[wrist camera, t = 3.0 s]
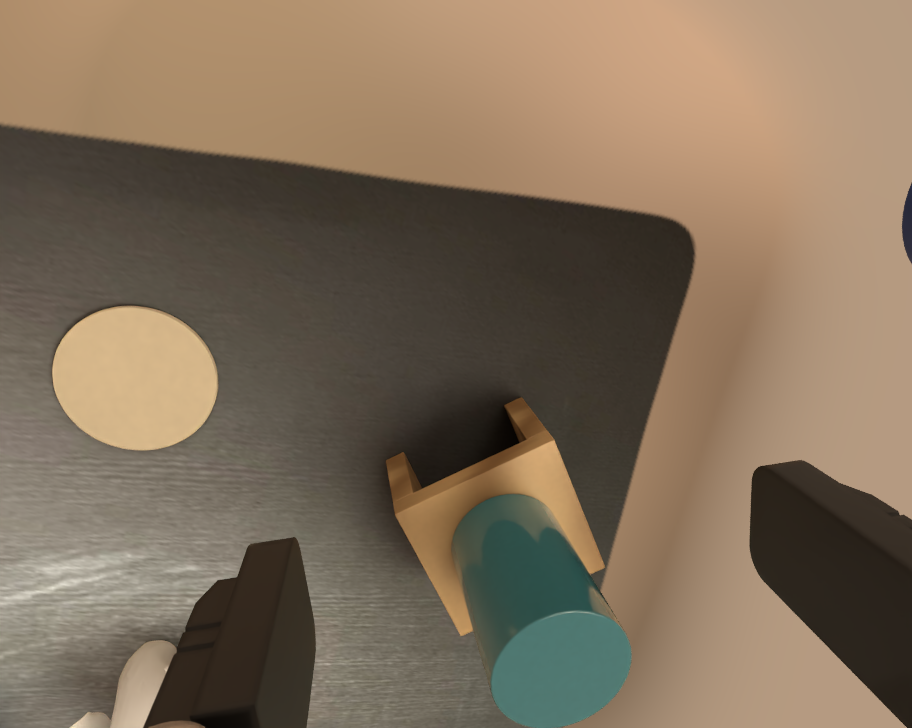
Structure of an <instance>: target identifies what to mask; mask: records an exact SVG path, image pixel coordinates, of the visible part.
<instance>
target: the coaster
mask: <svg viewBox="0 0 912 728" xmlns="http://www.w3.org/2000/svg"><path fill="white" fill-rule="evenodd" d="M52 378H53V385H54V389H55V393H56V396H57V398H58V400H59V402H60V405H61V406H62V408H63V409H64V411H65V412H66V414H67V415H68V416H69V418H70V419H71V420H72V421H73V422H74V423H75V424H76V425H77V426H78V427H79V428H80V429H82V430H83V431H84V432H86V433H87V434H89V435H90V436H92V437H94V438H95V439H97V440H99V441H101V442H104V443H106V444H109V445H112V446H115V447H119V448H124V449H129V450H153V449H160V448H164V447H168V446H171V445H173V444H176V443H178V442H180V441H182V440H184V439H186V438H187V437H189V436H190V435H192V434H193V433H194V432H195V431H196V430H198V429H199V428H200V427H201V426H202V424H203V423H204V422H205V421H206V419H207V418H208V416H209V414H210V413H211V411H212V408H213V406H214V404H215V401H216V397H217V393H218V373H217V368H216V364H215V362H214V359H213V356H212V354H211V352H210V350H209V348H208V347H207V345H206V344H205V343H204V341H203V340H202V339H201V338H200V336H199V335H198V334H197V333H196V332H195V331H194V330H193V329H191V328H190V327H189V326H188V325H187V324H185V323H184V322H182V321H181V320H179V319H177V318H175V317H174V316H172V315H170V314H167V313H165V312H162V311H159V310H156V309H152V308H148V307H141V306H118V307H112V308H108V309H104V310H101V311H98V312H96V313H93V314H91V315H89V316H88V317H86V318H84V319H83V320H81V321H80V322H79V323H77V324H76V325H74V326H73V327H72V328H71V329H70V330H69V331H68V332H67V334H66V335H65V336H64V338H63V339H62V340H61V342H60V344H59V346H58V348H57V350H56V353H55V356H54V361H53V367H52Z"/></svg>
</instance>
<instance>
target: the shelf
mask: <svg viewBox="0 0 912 728" xmlns="http://www.w3.org/2000/svg"><path fill="white" fill-rule="evenodd" d="M504 407H505V409H506V412H507V414H508V416H509V419H510V421H511V423H512V426H513V428H514V430H515V433H516V435H517V437H518V440H519V442H520V443H519V444H517V445H514V446H512V447H510V448H508V449H506V450H504V451H502V452H500V453H497V454H495V455H493V456H491V457H489V458H487V459H485V460H482V461H480V462H478V463H476V464H474V465H472V466H470V467H468V468H465V469H463V470H461V471H459V472H457V473H455V474H453V475H450V476H448V477H446V478H444V479H442V480H440V481H438V482H436V483H433V484H431V485H429V486H427V487H425V488H423V489H422V487H421V485H420V483H419V481H418V479H417V477H416V475H415V473H414V471H413V469H412V467H411V465H410V463H409V461H408V459H407V457H406V456H405V454H404V452H402V453H400V454H398V455H396V456H394V457H392V458H390V459H387V460H386V465H387V471H388V477H389V483H390V488H391V494H392V500H393V506H394V512H395V516H396V518H397V519H398V521H399V523H400V525H401V527H402V529H403V530H404V532H405V534H406V536H407V538H408V540H409V541H410V543H411V545H412V547H413V549H414V551H415V552H416V554H417V556H418V558H419V560H420V562H421V564H422V565H423V567H424V569H425V571H426V573H427V575H428V576H429V578H430V580H431V582H432V584H433V586H434V587H435V589H436V591H437V593H438V595H439V597H440V598H441V600H442V602H443V604H444V606H445V608H446V609H447V611H448V613H449V615H450V617H451V619H452V620H453V622H454V624H455V626H456V628H457V630H458V631H459V633H460V635H461V636H463V635H465V634H467V633H469V632H471V631H473V629H472V625H471V622H470V619H469V615H468V612H467V608H466V605H465V601H464V598H463V595H462V591H461V588H460V584H459V581H458V578H457V574H456V571H455V567H454V564H453V560H452V556H451V543H452V538H453V535H454V532H455V530H456V528H457V526H458V524H459V523H460V521H461V520H462V518H463V517H464V516H465V515H466V514H467V513H468V512H469V511H470V510H471V509H472V508H474V507H475V506H477V505H478V504H479V503H481V502H483V501H485V500H487V499H490V498H492V497H496V496H499V495H505V494H522V495H527V496H530V497H533V498H535V499H537V500H539V501H541V502H542V503H544V504H545V505H546V506H547V507H548V508H549V509H550V510H551V511H552V512H553V514H554V515H555V517H556V519H557V520H558V522H559V524H560V525H561V527H562V529H563V530H564V532H565V534H566V535H567V537H568V539H569V540H570V542H571V543H572V545H573V547H574V548H575V550H576V552H577V553H578V555H579V557H580V558H581V560H582V562H583V563H584V565H585V567H586V568H587V570H588V572H589V573H590V574H592V573H594V572H597V571H599V570H601V569H603V568H605V566H604V563H603V561H602V558H601V556H600V553H599V551H598V548H597V546H596V543H595V541H594V538H593V536H592V533H591V531H590V528H589V526H588V523H587V521H586V518H585V516H584V513H583V511H582V508H581V506H580V503H579V501H578V498H577V496H576V493H575V491H574V488H573V486H572V483H571V481H570V478H569V475H568V473H567V470H566V468H565V465H564V463H563V460H562V458H561V455H560V453H559V450H558V448H557V445H556V443H555V440H554V439H553V438H552V436H551V435H550V434H549V432H548V431H547V430H546V428H545V427H544V426H543V424H542V423H541V422H540V421H539V419H538V418H537V417H536V415H535V414H534V413H533V411H532V410H531V409H530V407H529V406H528V405H527V403H526V402H525V401H524V399H523V398H522V397H520V398H518V399H516V400H514V401H512V402H510V403H508V404H505V405H504Z"/></svg>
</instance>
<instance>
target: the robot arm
mask: <svg viewBox="0 0 912 728" xmlns="http://www.w3.org/2000/svg"><path fill="white" fill-rule="evenodd" d="M750 518H751V519H750V552H751V557H752V561H753V563H754V566H755V568H756V570H757V572H758V574H759V576H760V577H761V578H762V580H763V581H764V582H765V583H766V584H767V585H768V586H769V587H770V588H771V589H772V590H773V591H774V592H775V593H776V594H777V595H778V596H779V597H780V598H781V599H782V600H783V601H784V602H785V604H786V605H787V606H788V607H789V608H790V609H791V610H792V611H793V612H794V613H795V614H796V615H797V616H798V617H799V618H800V619H801V620H802V621H803V622H804V623H805V624H806V625H807V626H808V627H809V628H810V629H811V630H812V631H813V632H814V633H815V634H816V635H817V636H818V637H819V638H820V639H821V640H822V641H823V642H824V643H825V644H826V645H827V646H828V647H829V648H830V650H831V651H832V652H833V653H834V654H835V655H836V656H837V657H838V658H839V659H840V660H841V661H842V662H843V663H844V664H845V665H846V666H847V667H848V668H849V669H850V670H851V671H852V672H853V673H854V674H855V675H856V676H857V677H858V678H859V679H860V680H861V681H862V682H863V683H864V684H865V685H866V686H867V687H868V688H869V689H870V690H871V691H872V692H873V693H874V694H875V695H876V696H877V697H878V698H879V700H881V702H882V703H883V704H884V705H885V706H886V707H887V708H888V709H889V710H890V711H891V712H892V713H893V714H894V715H895V716H896V717H897V718H898V719H899V720H900V721H901V722H902V723H903V724H904V725H905V726H906V727H907V728H912V520H911V519H910V518H908V517H906V516H905V515H899V512H898V511H897V510H895V509H894V508H892V507H890V506H889V505H887V504H886V503H884V502H882V501H881V500H879V499H878V498H876V497H874V496H873V495H871V494H868V493H865V492H862V491H860V490H857V489H854V488H852V487H849V486H846V485H843V484H841V483H838V482H837V481H836V480H834V479H832V478H831V477H829V476H828V475H826V474H824V473H823V472H822V471H820V470H818V469H817V468H815V467H814V466H812V465H811V464H809V463H807V462H805V461H802V460H798V461H792V462H785V463H779V464H772V465H766V466H760V467H758V468H757V469H756V470H755V471H754V473H753V477H752V492H751V517H750ZM185 629H186V631H185V632H184V633H183V634H182V637H181V639H180V641H179V644H178V646H177V653H176V654H174V656H173V658H172V660H171V663H170V665H169V667H168V670H167V672H166V674H165V677H164V679H163V682H162V684H161V686H160V689H159V691H158V693H157V696H156V698H155V700H154V703H153V705H152V707H151V710H150V712H149V715H148V717H147V719H146V722H145V724H144V726H143V728H306V727H307V719H308V711H309V703H310V694H311V686H312V678H313V670H314V662H315V651H316V639H315V625H314V618H313V612H312V607H311V602H310V597H309V592H308V587H307V582H306V577H305V572H304V566H303V561H302V556H301V551H300V547H299V544H298V541H297V539H296V538H295V537H293V538H287V539H280V540H274V541H267V542H261V543H254V544H250V545H249V546H248V548H247V551H246V553H245V556H244V559H243V562H242V565H241V568H240V571H239V574H238V577H236V578H230V579H224V580H218V581H217V582H216V583H215V584H214V585H213V586H212V587H211V588H210V589H209V590H208V591H207V592H206V593H205V594H204V595H203V596H202V597H201V598H200V599H199V600H198V601H197V602H196V604H195V606H194V608H193V611H192V613H191V615H190V618H189V620H188V623H187V625H186V627H185Z"/></svg>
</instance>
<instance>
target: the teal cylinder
mask: <svg viewBox="0 0 912 728" xmlns="http://www.w3.org/2000/svg"><path fill="white" fill-rule="evenodd" d="M451 556H452V560H453V564H454V567H455V571H456V574H457V578H458V581H459V584H460V588H461V591H462V595H463V598H464V601H465V605H466V608H467V612H468V615H469V619H470V622H471V625H472V629H473V632H474V636H475V639H476V642H477V646H478V649H479V653H480V656H481V660H482V663H483V666H484V670H485V673H486V677H487V680H488V684H489V687H490V690H491V694H492V697H493V699H494V702H495V704H496V705H497V707H498V708H499V710H500V711H501V712H502V713H503V714H504V715H505V716H507V717H508V718H509V719H511V720H512V721H514V722H516V723H518V724H521V725H524V726H527V727H532V728H559V727H563V726H568V725H571V724H574V723H577V722H579V721H582V720H584V719H586V718H587V717H590V716H591V715H593V714H595V713H596V712H598V711H599V710H600V709H602V708H603V707H604V706H605V705H606V704H608V703H609V702H610V701H611V700H612V699H613V698H614V697H615V695H616V694H617V693H618V692H619V690H620V689H621V687H622V686H623V684H624V682H625V680H626V678H627V676H628V673H629V670H630V665H631V655H632V654H631V646H630V643H629V639H628V637H627V635H626V633H625V631H624V630H623V628H622V626H621V625H620V623H619V621H618V620H617V618H616V616H615V615H614V613H613V611H612V610H611V608H610V607H609V605H608V603H607V601H606V600H605V598H604V597H603V595H602V593H601V591H600V590H599V588H598V587H597V585H596V583H595V582H594V580H593V578H592V577H591V575H590V573H589V572H588V570H587V568H586V567H585V565H584V563H583V562H582V560H581V558H580V557H579V555H578V553H577V552H576V550H575V548H574V547H573V545H572V543H571V542H570V540H569V539H568V537H567V535H566V534H565V532H564V530H563V529H562V527H561V525H560V524H559V522H558V520H557V519H556V517H555V515H554V514H553V512H552V511H551V510H550V509H549V508H548V507H547V506H546V505H545V504H544V503H542V502H541V501H539V500H537V499H535V498H533V497H530V496H527V495H522V494H505V495H499V496H496V497H492V498H490V499H487V500H485V501H483V502H481V503H479V504H478V505H477V506H475V507H474V508H472V509H471V510H470V511H469V512H468V513H467V514H466V515H465V516H464V517H463V518H462V520H461V521H460V523H459V524H458V526H457V528H456V530H455V532H454V535H453V538H452V543H451Z"/></svg>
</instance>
